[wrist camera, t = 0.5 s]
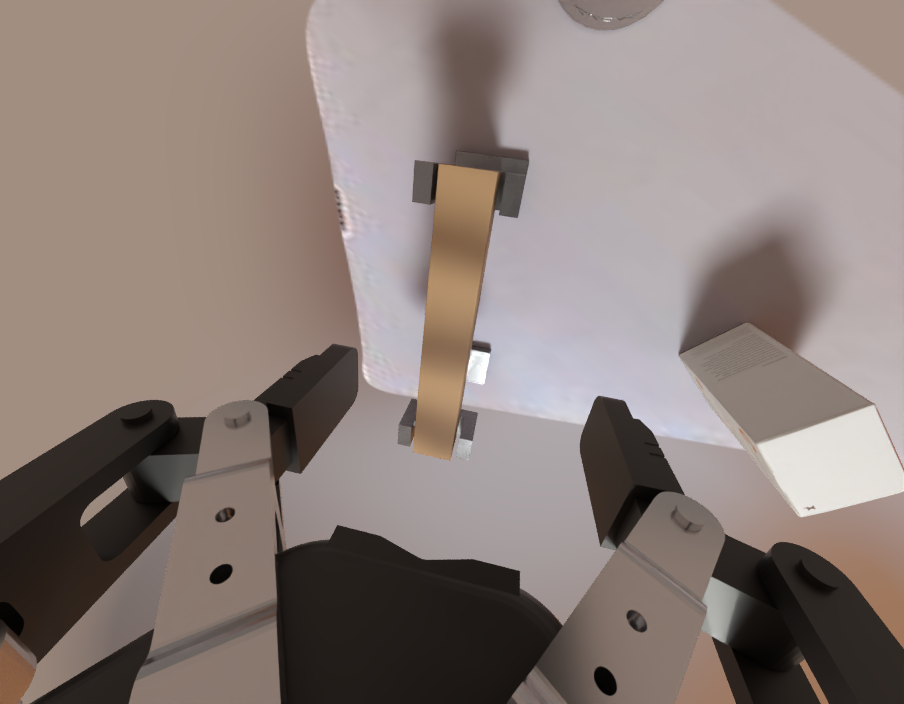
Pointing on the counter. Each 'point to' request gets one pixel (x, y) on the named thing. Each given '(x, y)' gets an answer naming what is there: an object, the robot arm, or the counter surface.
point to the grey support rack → (508, 206)
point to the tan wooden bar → (452, 301)
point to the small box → (796, 421)
